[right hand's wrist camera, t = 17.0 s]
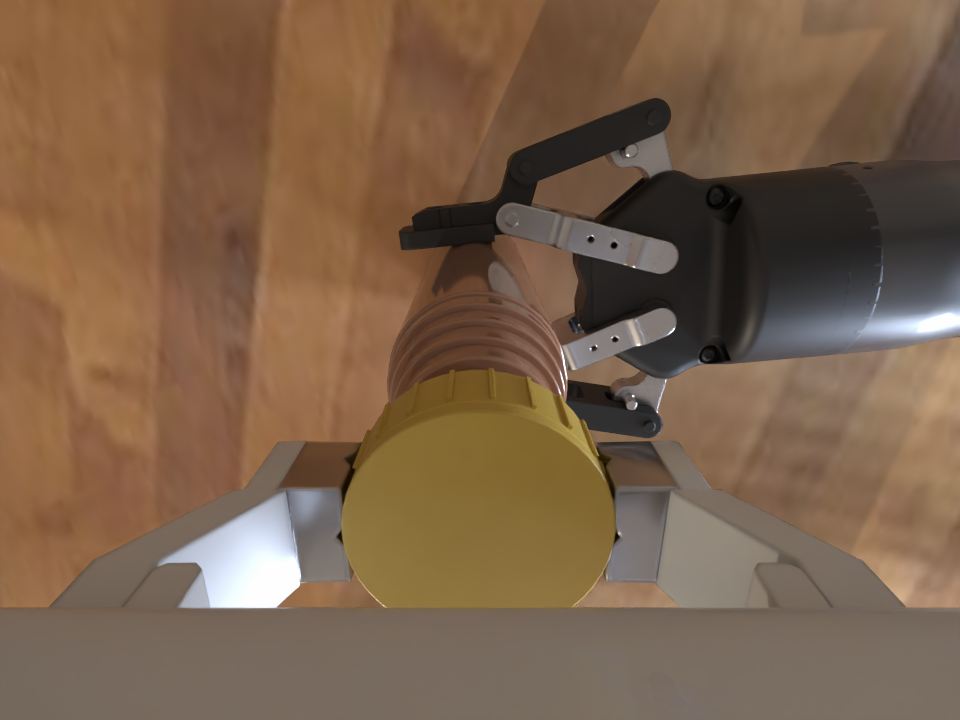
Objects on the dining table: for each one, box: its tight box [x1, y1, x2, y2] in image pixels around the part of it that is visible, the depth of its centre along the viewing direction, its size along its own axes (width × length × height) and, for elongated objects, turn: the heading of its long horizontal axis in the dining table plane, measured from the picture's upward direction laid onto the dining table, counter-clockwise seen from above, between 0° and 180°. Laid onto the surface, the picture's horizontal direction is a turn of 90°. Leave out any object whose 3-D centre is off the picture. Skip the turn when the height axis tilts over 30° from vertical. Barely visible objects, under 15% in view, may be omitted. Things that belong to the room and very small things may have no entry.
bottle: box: [387, 234, 567, 404], centre depth 19 cm, size 5×5×21 cm
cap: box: [341, 368, 616, 608], centre depth 9 cm, size 4×4×2 cm
